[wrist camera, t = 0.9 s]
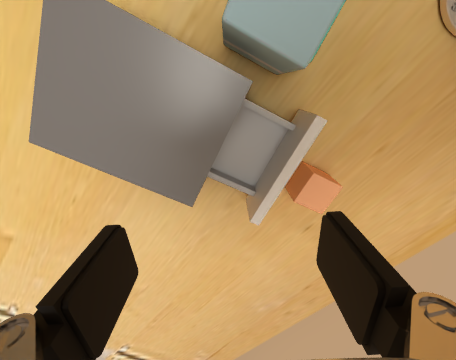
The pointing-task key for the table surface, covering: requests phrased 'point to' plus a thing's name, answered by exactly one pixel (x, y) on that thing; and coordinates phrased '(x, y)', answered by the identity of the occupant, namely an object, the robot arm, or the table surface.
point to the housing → (130, 98)
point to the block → (312, 188)
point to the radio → (278, 30)
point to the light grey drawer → (263, 154)
